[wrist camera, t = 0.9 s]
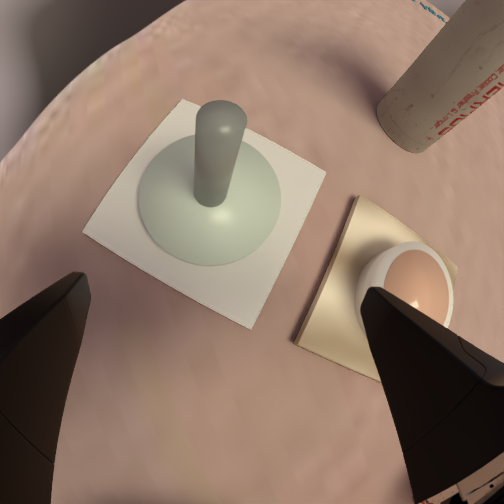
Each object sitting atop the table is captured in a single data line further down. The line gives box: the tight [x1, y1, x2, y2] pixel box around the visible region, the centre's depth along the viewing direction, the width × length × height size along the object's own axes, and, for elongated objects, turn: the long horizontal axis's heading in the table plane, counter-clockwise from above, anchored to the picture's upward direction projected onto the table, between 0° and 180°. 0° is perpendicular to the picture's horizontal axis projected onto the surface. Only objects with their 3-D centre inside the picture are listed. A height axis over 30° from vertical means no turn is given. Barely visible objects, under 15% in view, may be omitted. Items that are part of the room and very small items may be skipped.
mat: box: [82, 99, 326, 330], centre depth 23 cm, size 15×15×1 cm
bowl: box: [355, 241, 453, 338], centre depth 22 cm, size 9×9×3 cm
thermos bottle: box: [377, 0, 504, 153], centre depth 16 cm, size 8×8×28 cm
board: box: [293, 195, 458, 382], centre depth 23 cm, size 14×14×1 cm
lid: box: [139, 100, 281, 266], centre depth 18 cm, size 11×11×10 cm
